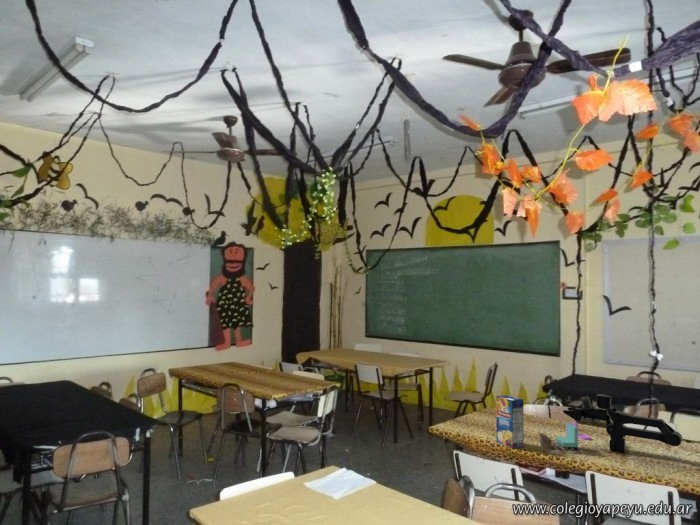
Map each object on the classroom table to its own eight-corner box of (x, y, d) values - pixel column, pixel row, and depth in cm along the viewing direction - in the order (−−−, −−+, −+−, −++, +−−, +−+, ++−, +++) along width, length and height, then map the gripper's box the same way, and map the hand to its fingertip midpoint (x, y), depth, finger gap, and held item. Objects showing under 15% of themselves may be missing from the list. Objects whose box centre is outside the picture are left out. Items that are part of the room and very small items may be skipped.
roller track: (573, 445, 265) (573, 434, 265) (583, 453, 252) (583, 441, 252) (538, 444, 266) (538, 432, 266) (546, 452, 253) (546, 439, 253)
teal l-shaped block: (569, 440, 264) (569, 422, 265) (577, 447, 253) (577, 428, 254) (555, 440, 265) (555, 422, 265) (563, 446, 254) (563, 427, 254)
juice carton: (496, 442, 269) (496, 396, 271) (507, 440, 272) (507, 395, 274) (512, 448, 258) (512, 400, 260) (523, 446, 262) (523, 399, 263)
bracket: (565, 435, 286) (565, 422, 286) (572, 433, 289) (572, 421, 289) (586, 441, 275) (586, 427, 275) (593, 439, 278) (593, 426, 278)
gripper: (600, 396, 272) (569, 392, 282) (592, 401, 257) (560, 397, 267) (601, 417, 271) (570, 412, 281) (592, 423, 257) (560, 418, 266)
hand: (565, 409), depth 274 cm, fingers open, 9 cm apart
